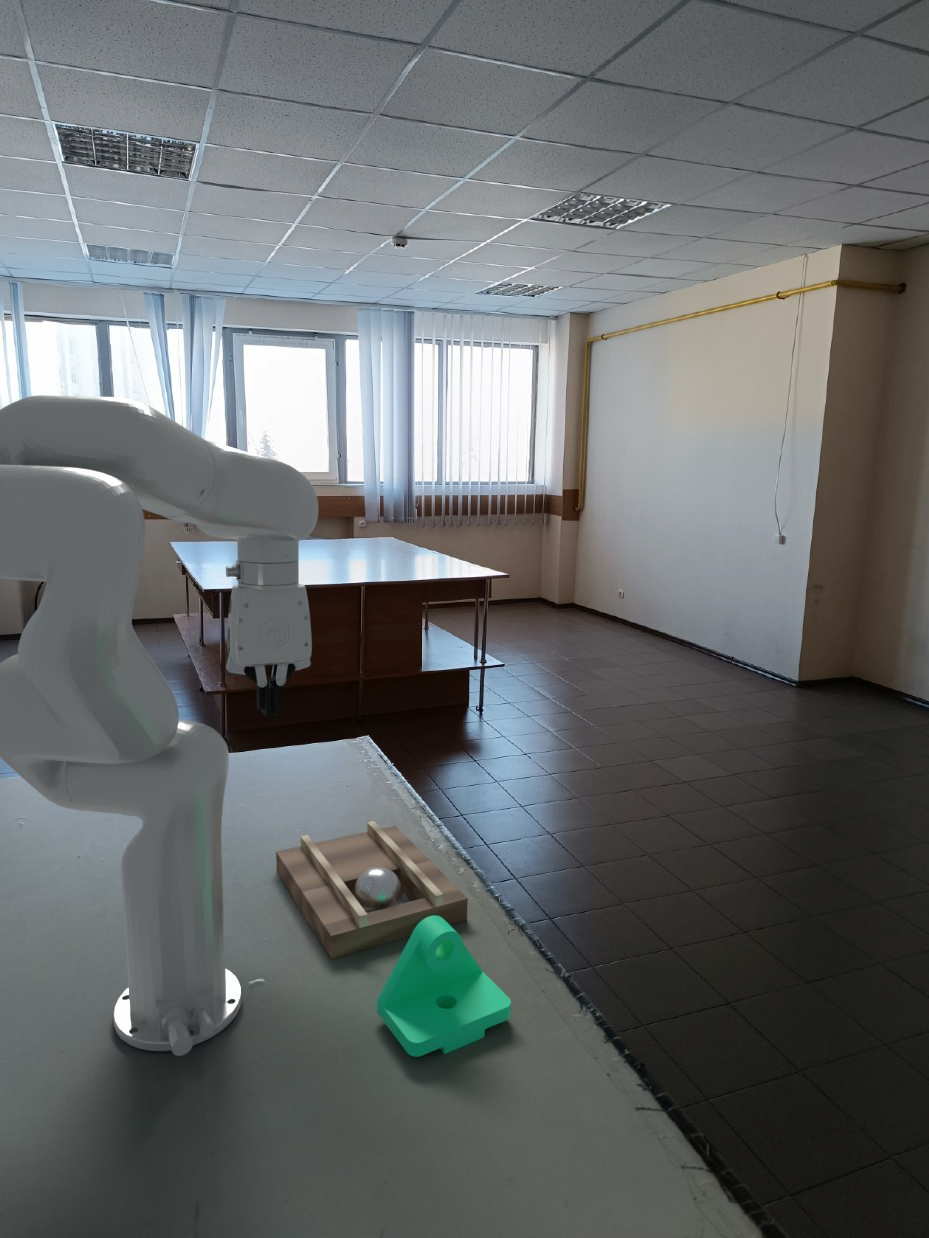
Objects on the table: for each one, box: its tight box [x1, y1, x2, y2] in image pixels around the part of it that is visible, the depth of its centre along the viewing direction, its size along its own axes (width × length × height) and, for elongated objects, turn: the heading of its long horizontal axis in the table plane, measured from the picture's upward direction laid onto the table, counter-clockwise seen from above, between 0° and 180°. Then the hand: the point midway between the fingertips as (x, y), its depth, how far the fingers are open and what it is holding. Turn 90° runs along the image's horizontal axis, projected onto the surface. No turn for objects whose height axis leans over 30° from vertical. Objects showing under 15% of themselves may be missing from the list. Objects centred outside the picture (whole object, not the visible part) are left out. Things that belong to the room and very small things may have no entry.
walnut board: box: [275, 820, 469, 960], centre depth 107 cm, size 22×18×4 cm
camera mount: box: [376, 916, 512, 1058], centre depth 83 cm, size 12×8×10 cm, turn 122°
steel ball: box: [354, 867, 403, 913], centre depth 103 cm, size 6×6×6 cm
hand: (269, 713), depth 106 cm, fingers closed
